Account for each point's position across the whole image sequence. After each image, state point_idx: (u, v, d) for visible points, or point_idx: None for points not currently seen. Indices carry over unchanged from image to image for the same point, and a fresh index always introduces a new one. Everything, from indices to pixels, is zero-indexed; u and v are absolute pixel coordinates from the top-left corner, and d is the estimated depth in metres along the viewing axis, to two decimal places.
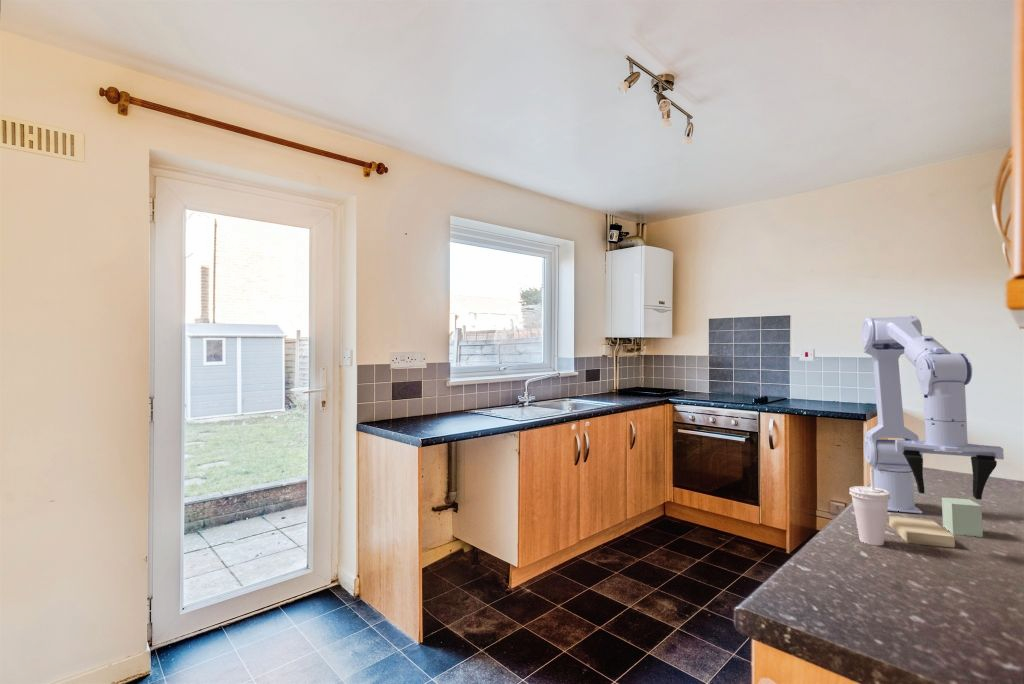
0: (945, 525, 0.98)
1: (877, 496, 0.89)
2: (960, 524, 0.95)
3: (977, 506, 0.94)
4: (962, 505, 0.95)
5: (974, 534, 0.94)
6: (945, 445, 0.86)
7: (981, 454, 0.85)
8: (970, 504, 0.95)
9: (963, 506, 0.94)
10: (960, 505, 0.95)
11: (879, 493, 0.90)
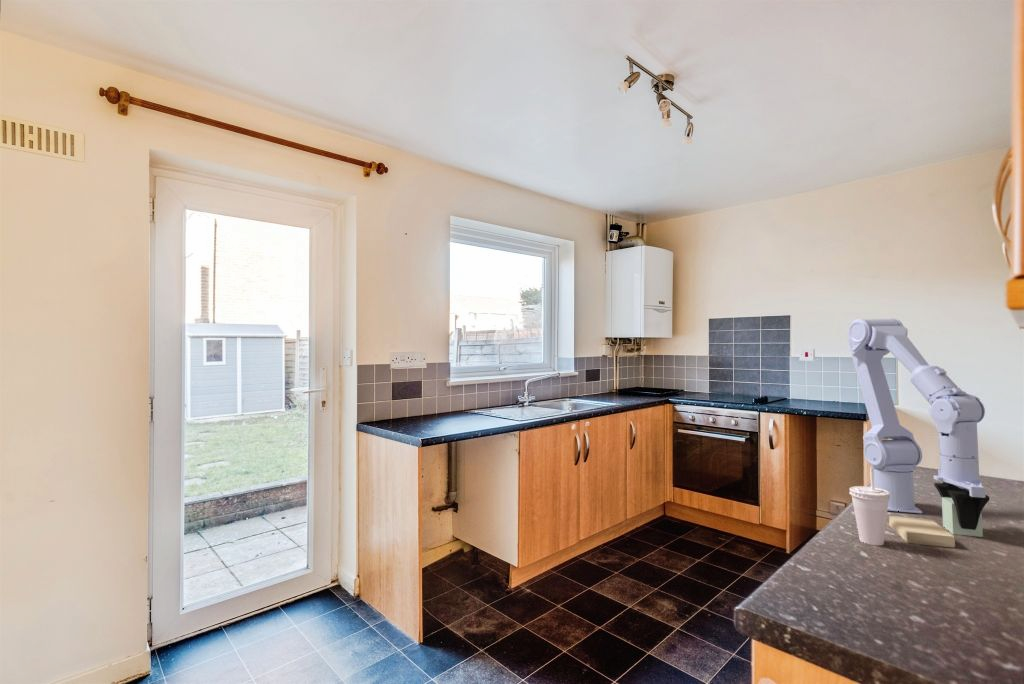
0: (945, 525, 0.98)
1: (877, 496, 0.89)
2: None
3: None
4: None
5: (974, 534, 0.94)
6: (940, 475, 0.98)
7: (968, 490, 0.92)
8: None
9: None
10: None
11: (879, 493, 0.90)
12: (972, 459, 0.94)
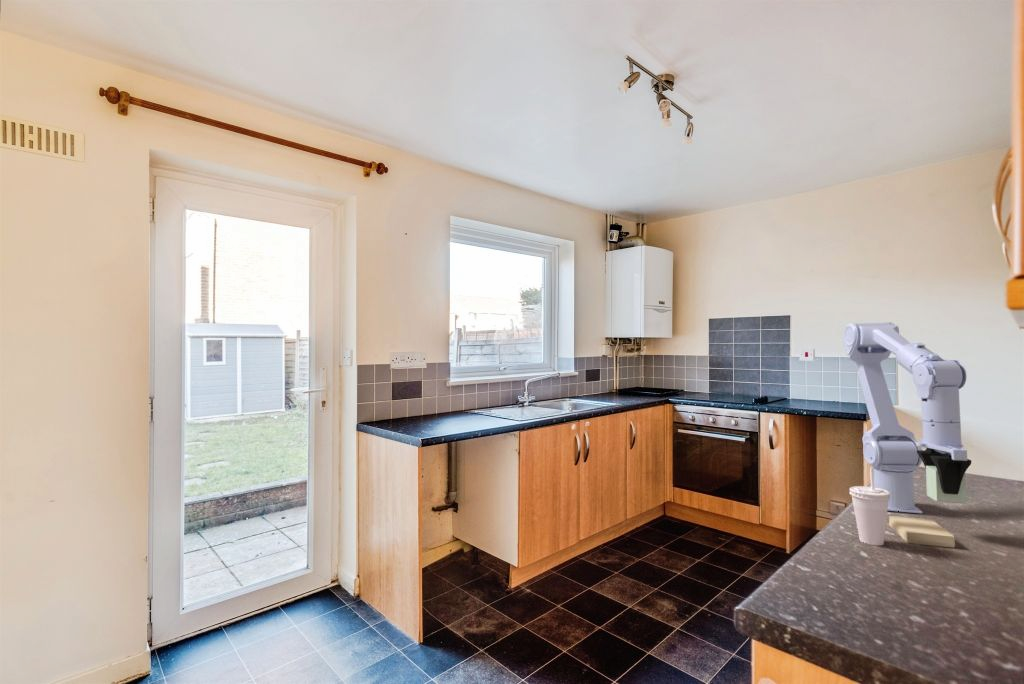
0: (929, 493, 0.97)
1: (877, 496, 0.89)
2: None
3: None
4: None
5: (958, 501, 0.93)
6: (923, 441, 0.97)
7: (950, 454, 0.92)
8: None
9: None
10: None
11: (879, 493, 0.90)
12: (954, 423, 0.93)
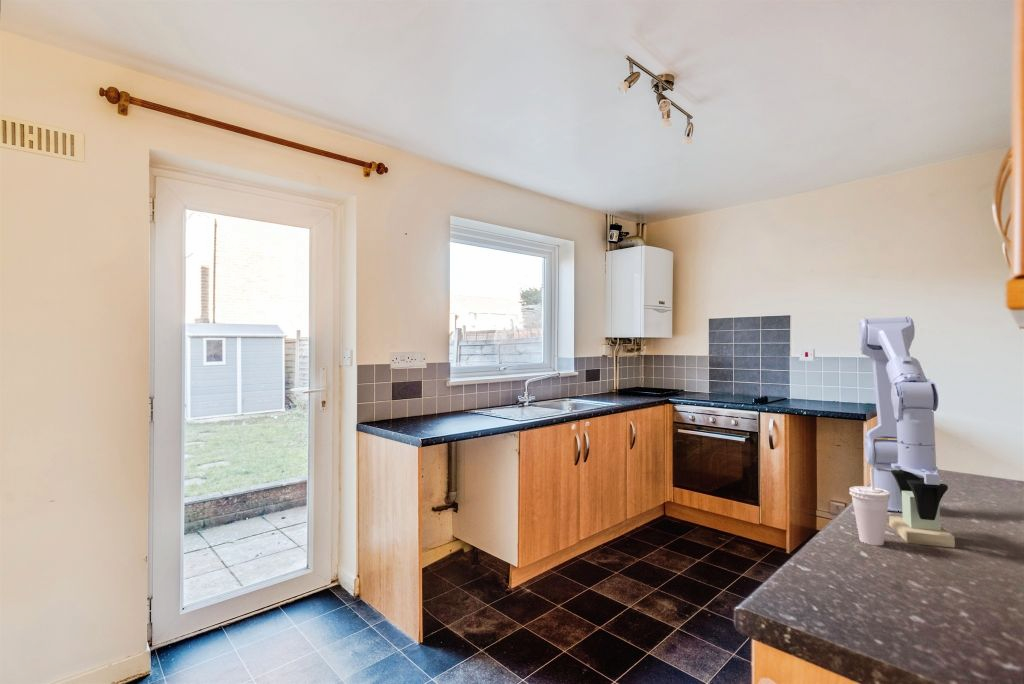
0: (904, 519, 0.96)
1: (877, 496, 0.89)
2: (918, 517, 0.93)
3: None
4: None
5: (932, 528, 0.92)
6: (898, 463, 0.96)
7: (924, 478, 0.91)
8: None
9: None
10: None
11: (879, 493, 0.90)
12: (928, 446, 0.92)
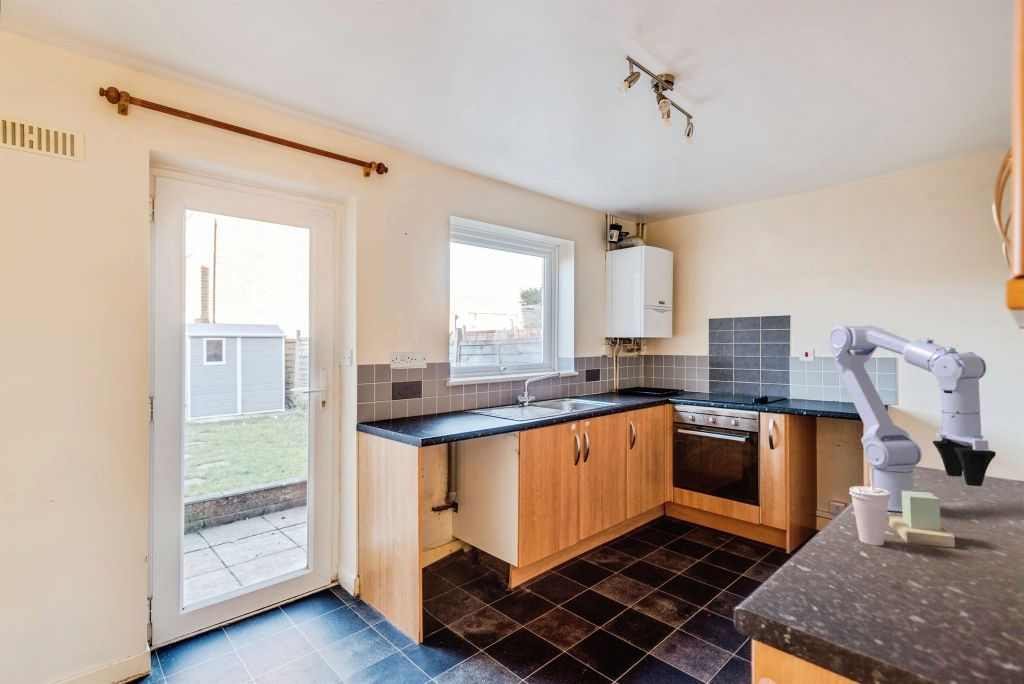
0: (904, 519, 0.96)
1: (877, 496, 0.89)
2: (918, 517, 0.93)
3: (935, 499, 0.92)
4: (920, 498, 0.93)
5: (932, 528, 0.92)
6: (943, 433, 0.99)
7: (971, 445, 0.93)
8: (928, 497, 0.93)
9: (921, 499, 0.93)
10: (918, 498, 0.93)
11: (879, 493, 0.90)
12: (974, 415, 0.95)
